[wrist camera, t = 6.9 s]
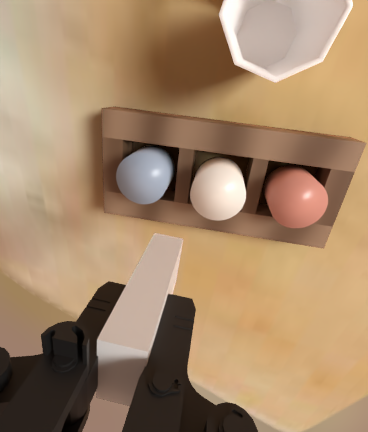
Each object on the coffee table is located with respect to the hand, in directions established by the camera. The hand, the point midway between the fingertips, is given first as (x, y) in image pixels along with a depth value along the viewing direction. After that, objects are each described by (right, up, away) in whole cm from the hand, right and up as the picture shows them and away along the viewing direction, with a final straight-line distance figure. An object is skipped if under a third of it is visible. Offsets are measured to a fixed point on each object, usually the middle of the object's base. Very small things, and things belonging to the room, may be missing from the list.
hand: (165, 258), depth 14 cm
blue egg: (-2, +7, +12) cm, 14 cm away
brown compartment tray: (+5, +7, +13) cm, 15 cm away
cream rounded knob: (+4, +6, +11) cm, 13 cm away
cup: (+6, +18, +8) cm, 20 cm away
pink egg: (+11, +5, +11) cm, 16 cm away
